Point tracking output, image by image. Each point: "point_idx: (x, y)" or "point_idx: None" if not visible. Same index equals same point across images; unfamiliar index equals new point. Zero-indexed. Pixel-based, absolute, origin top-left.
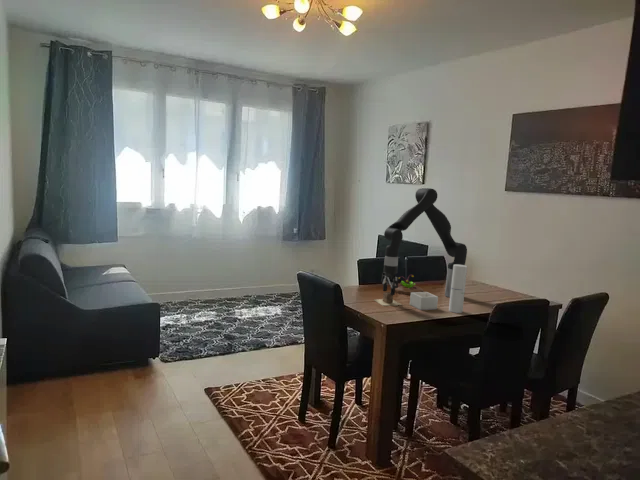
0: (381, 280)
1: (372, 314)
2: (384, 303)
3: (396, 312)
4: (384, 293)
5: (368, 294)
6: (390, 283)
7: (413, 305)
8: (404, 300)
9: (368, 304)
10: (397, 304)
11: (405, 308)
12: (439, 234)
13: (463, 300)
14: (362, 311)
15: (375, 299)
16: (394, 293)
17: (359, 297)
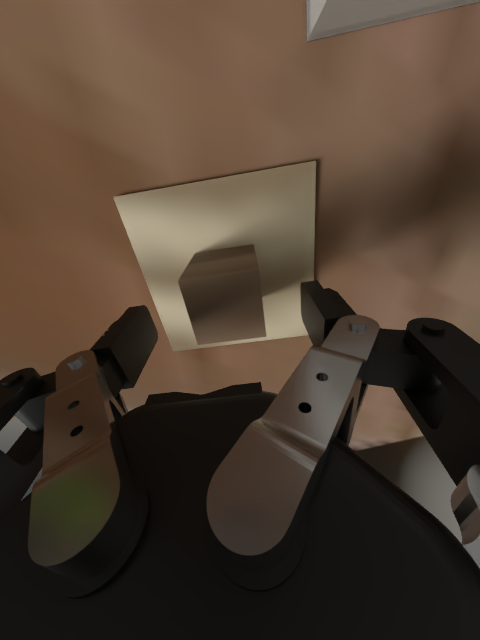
0: (35, 438)
1: None
2: (269, 313)
3: (470, 300)
4: (218, 339)
5: (16, 332)
6: (349, 440)
7: (403, 12)
8: (104, 13)
9: (269, 391)
10: (308, 218)
11: (415, 177)
12: None
13: None
14: (378, 435)
15: (169, 337)
16: (335, 294)
17: (125, 395)
